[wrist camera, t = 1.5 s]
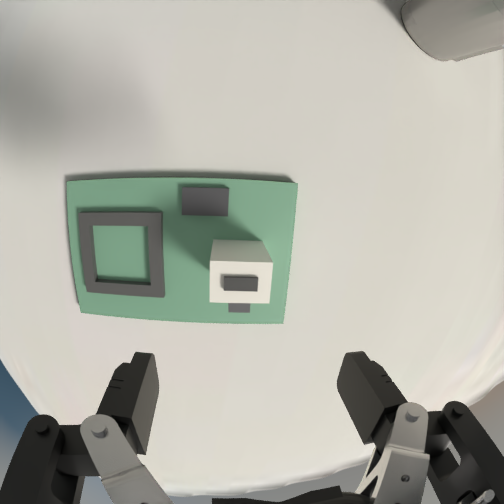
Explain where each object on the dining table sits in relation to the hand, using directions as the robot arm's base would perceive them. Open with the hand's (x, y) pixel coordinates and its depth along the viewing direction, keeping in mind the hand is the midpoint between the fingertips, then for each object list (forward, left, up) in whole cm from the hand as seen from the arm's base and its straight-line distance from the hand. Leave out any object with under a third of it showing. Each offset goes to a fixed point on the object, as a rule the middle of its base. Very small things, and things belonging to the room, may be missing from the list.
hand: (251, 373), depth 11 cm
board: (+6, 0, -17) cm, 18 cm away
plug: (0, 0, -16) cm, 16 cm away
